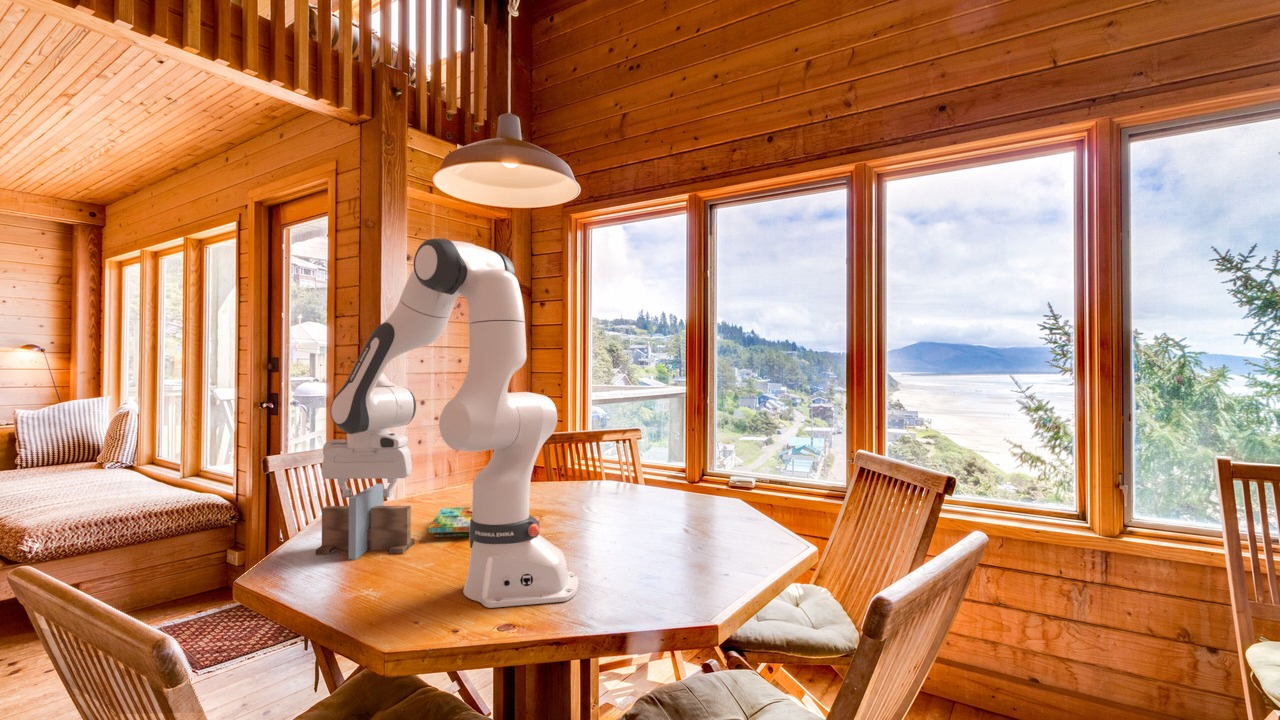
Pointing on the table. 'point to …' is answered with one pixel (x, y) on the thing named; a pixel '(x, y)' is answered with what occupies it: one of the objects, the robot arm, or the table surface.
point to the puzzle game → (452, 522)
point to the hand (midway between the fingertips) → (367, 496)
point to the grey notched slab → (362, 518)
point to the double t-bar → (384, 533)
